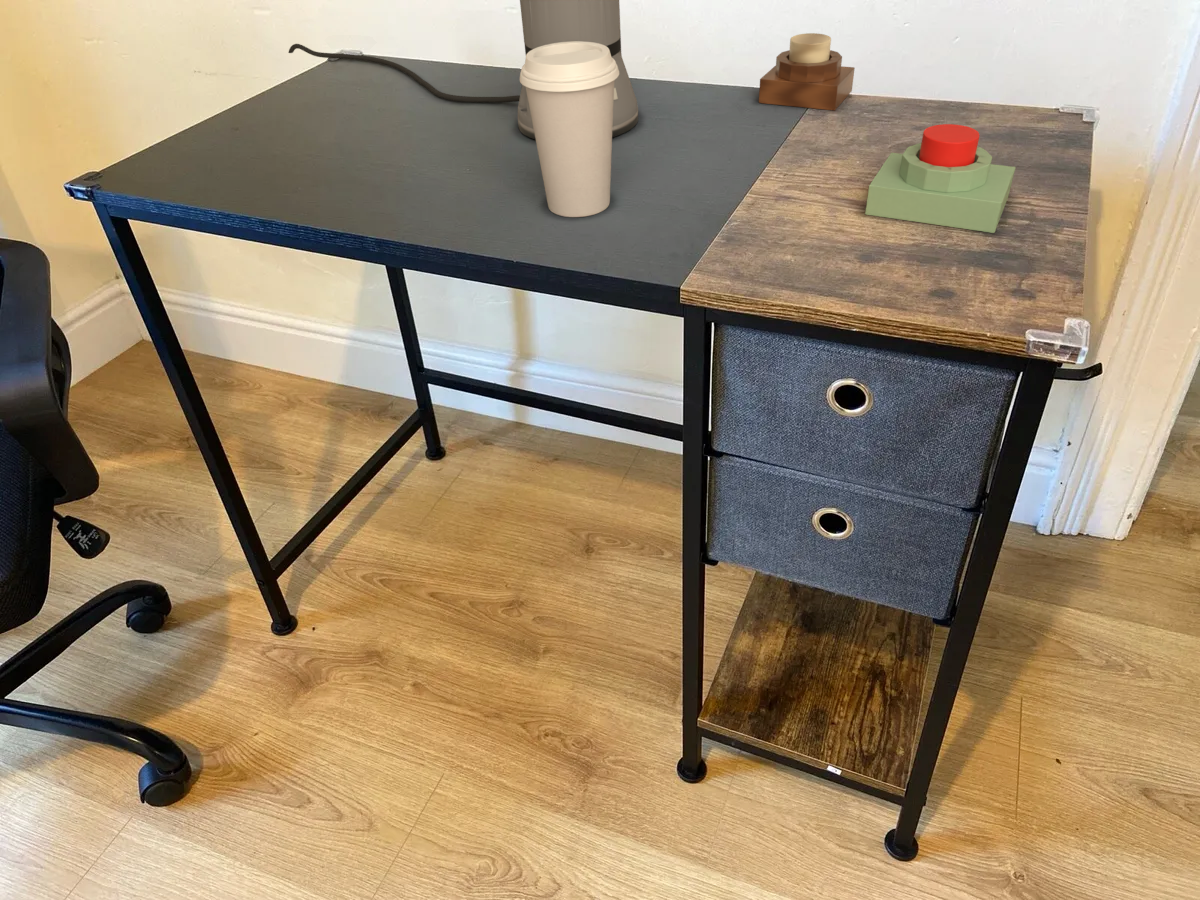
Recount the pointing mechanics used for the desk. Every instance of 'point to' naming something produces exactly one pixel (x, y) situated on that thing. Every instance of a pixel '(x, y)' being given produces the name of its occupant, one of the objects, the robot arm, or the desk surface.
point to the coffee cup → (572, 123)
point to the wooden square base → (807, 83)
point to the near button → (949, 145)
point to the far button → (809, 48)
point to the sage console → (941, 191)
